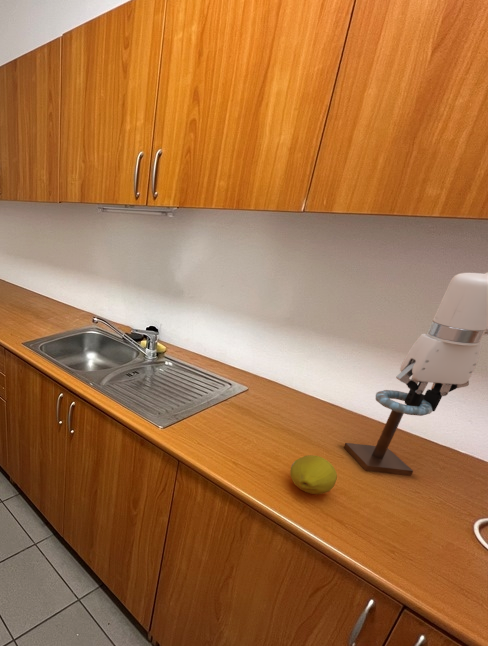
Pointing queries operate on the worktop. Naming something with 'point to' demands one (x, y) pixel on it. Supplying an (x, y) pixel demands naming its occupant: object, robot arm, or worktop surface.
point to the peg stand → (381, 451)
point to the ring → (385, 400)
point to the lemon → (313, 474)
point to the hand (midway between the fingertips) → (419, 406)
